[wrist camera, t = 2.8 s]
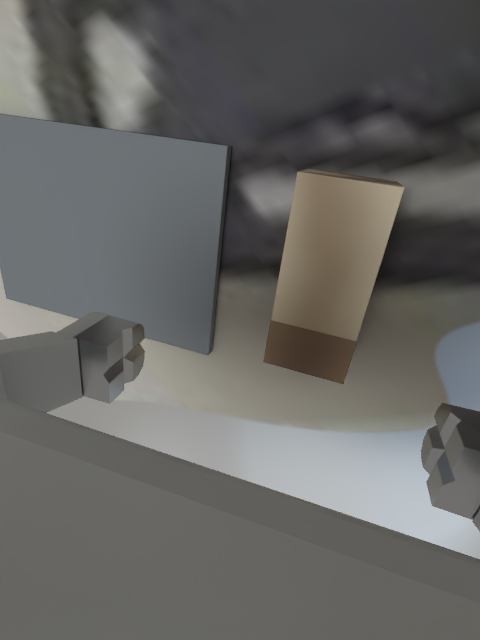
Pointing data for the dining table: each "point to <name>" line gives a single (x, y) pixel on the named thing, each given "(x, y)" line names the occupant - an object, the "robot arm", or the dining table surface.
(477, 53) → the dining table surface
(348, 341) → the tan rectangular block
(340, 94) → the dining table surface
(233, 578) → the robot arm
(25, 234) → the mat
